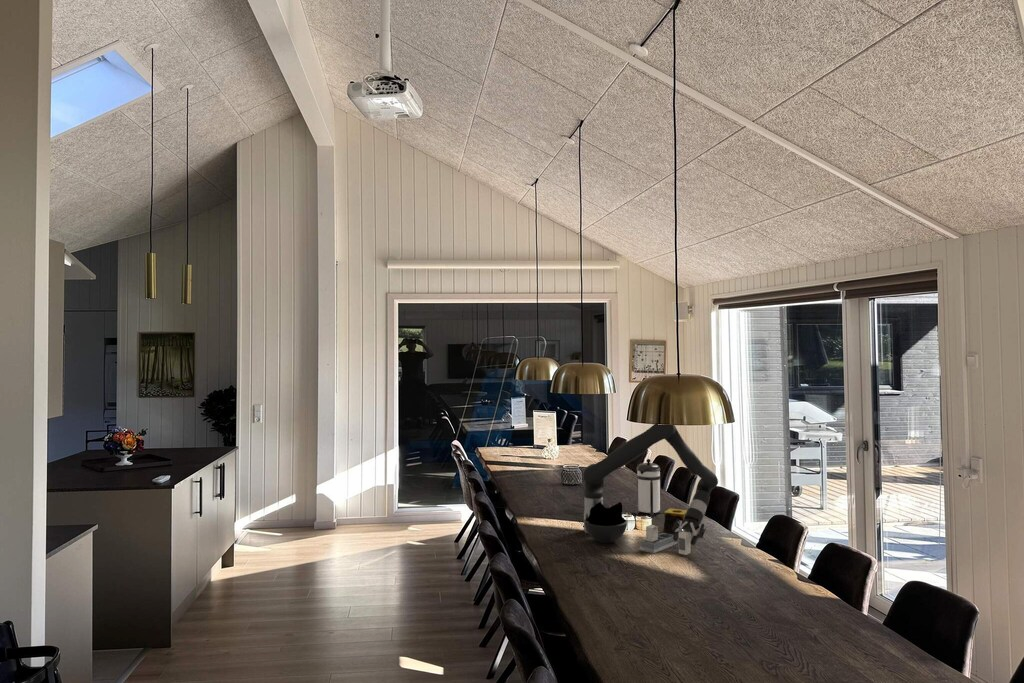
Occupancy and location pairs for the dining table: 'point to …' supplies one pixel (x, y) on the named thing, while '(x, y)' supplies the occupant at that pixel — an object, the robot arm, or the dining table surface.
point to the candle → (672, 518)
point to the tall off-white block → (684, 543)
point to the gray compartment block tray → (656, 540)
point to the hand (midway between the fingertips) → (683, 542)
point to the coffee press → (648, 488)
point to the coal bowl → (605, 523)
